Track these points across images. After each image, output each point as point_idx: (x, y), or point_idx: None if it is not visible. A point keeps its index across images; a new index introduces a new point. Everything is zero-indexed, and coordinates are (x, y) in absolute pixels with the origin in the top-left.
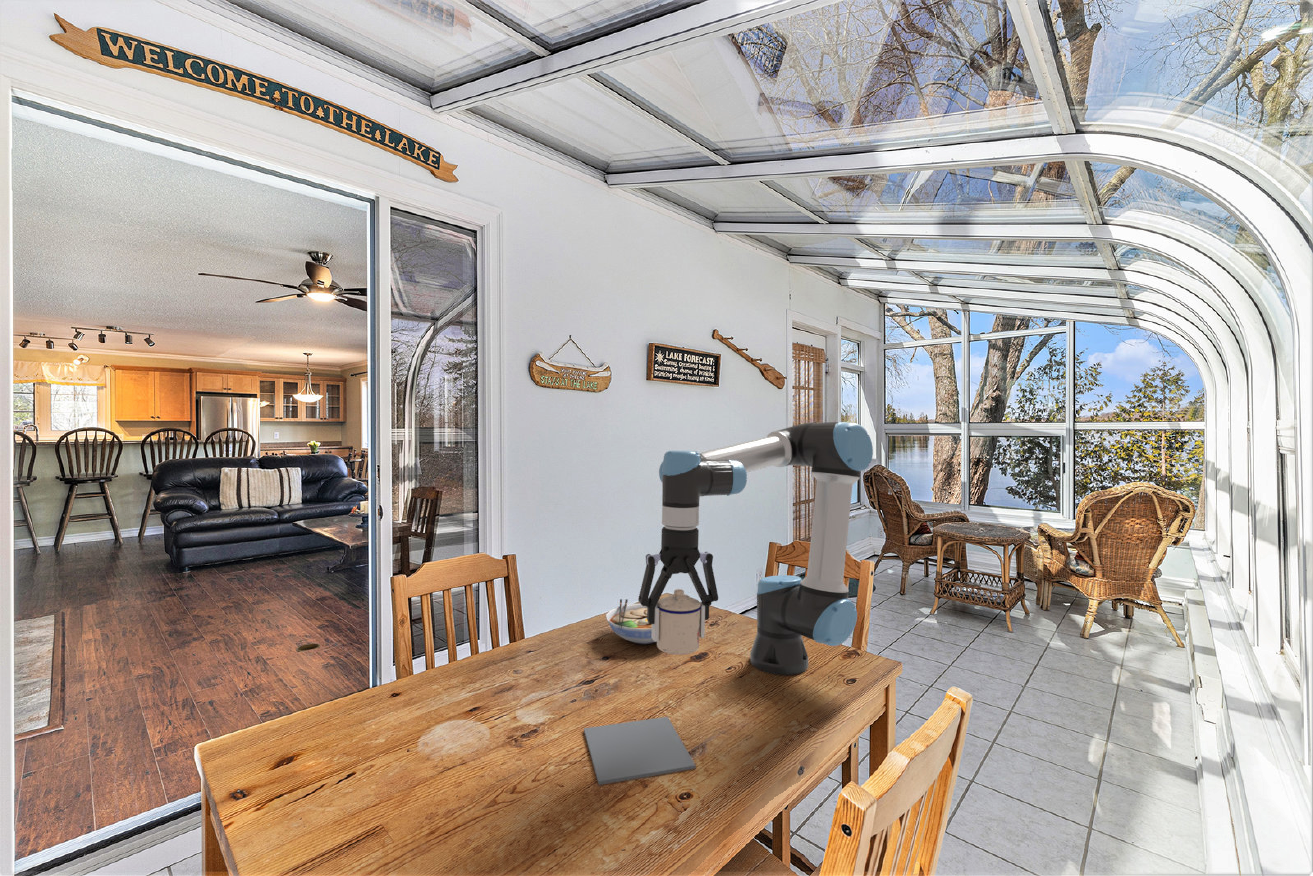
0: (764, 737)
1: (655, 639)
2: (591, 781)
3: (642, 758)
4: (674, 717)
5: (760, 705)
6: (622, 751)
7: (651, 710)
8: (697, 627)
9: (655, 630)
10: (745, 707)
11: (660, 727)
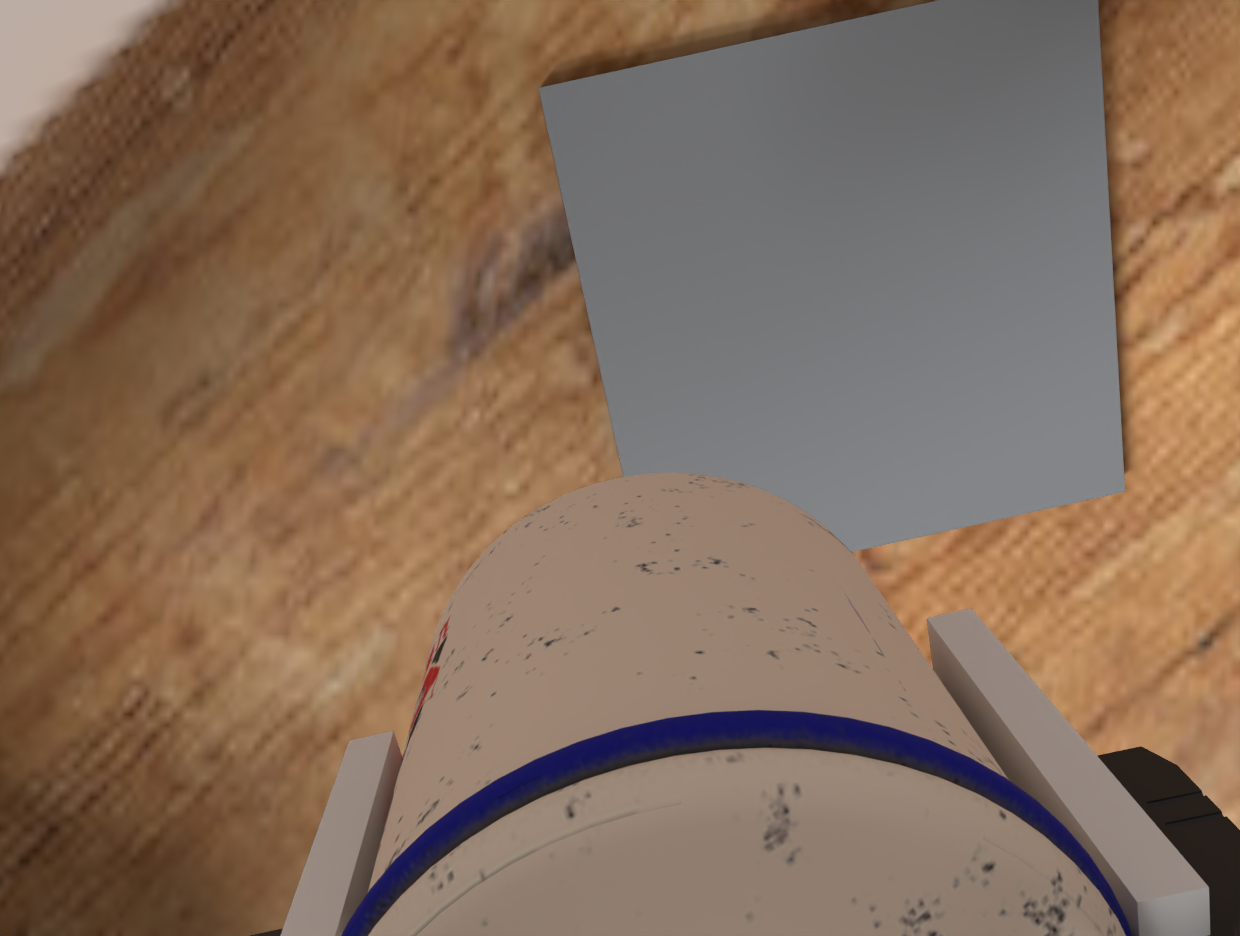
0: (92, 396)
1: (976, 624)
2: (1115, 18)
3: (835, 174)
4: None
5: (79, 731)
6: (939, 252)
7: None
8: (429, 718)
9: (1026, 682)
10: (174, 711)
11: None
